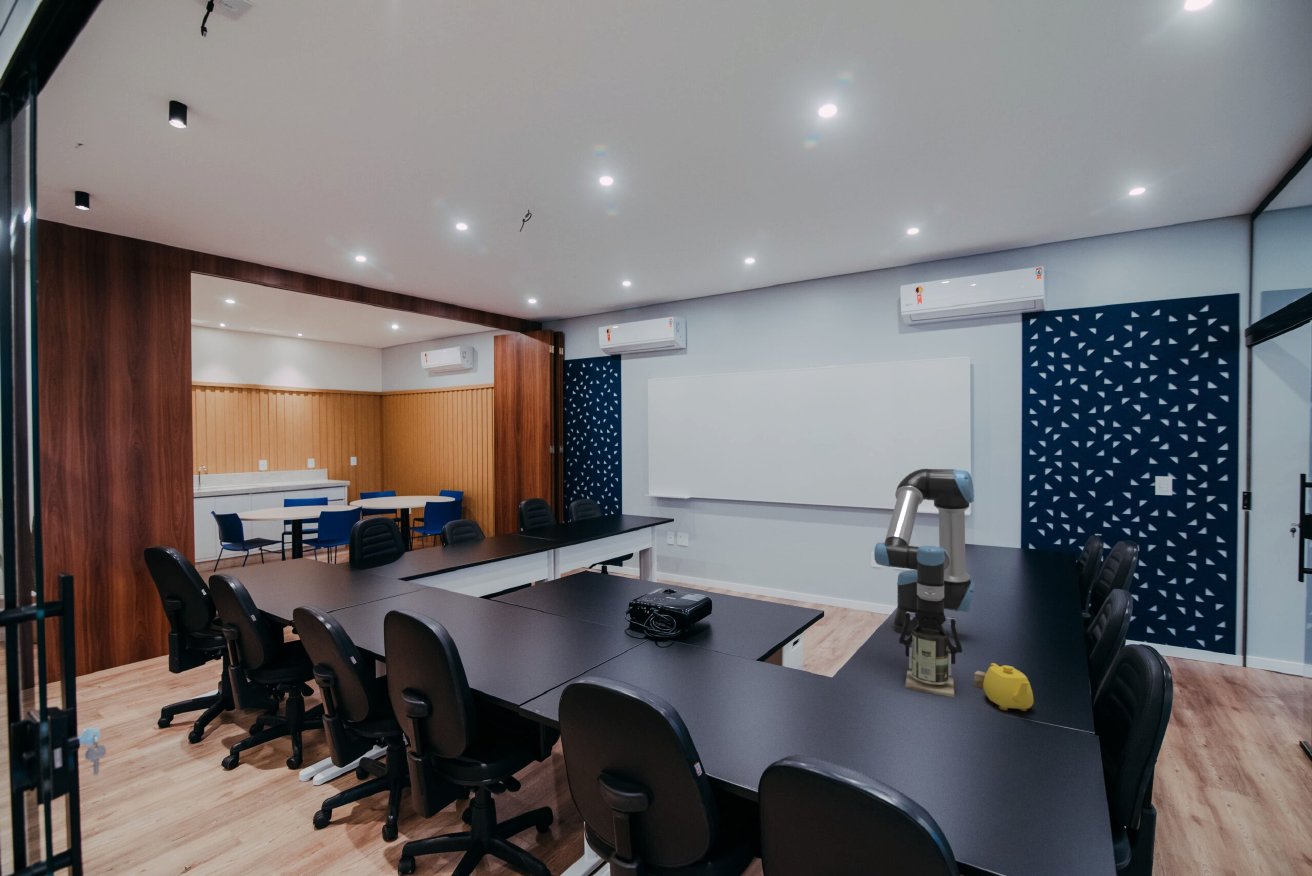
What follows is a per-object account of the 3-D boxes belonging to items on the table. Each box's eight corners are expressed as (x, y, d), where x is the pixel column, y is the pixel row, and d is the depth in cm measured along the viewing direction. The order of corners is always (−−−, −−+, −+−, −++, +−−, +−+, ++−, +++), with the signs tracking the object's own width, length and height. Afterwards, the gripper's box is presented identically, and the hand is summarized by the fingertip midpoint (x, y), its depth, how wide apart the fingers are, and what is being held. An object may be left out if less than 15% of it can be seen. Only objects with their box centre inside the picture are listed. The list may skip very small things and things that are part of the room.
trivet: (907, 672, 182) (907, 669, 182) (953, 680, 176) (953, 677, 176) (905, 688, 170) (905, 685, 170) (954, 697, 164) (954, 694, 164)
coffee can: (942, 672, 177) (943, 627, 177) (953, 686, 167) (953, 638, 167) (907, 669, 179) (908, 625, 179) (915, 683, 169) (916, 636, 169)
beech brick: (974, 686, 172) (974, 673, 172) (977, 683, 174) (977, 670, 174) (996, 692, 168) (996, 679, 168) (999, 689, 170) (999, 676, 170)
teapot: (1049, 722, 150) (1049, 681, 150) (1007, 720, 151) (1007, 680, 151) (1010, 691, 168) (1010, 655, 168) (972, 690, 169) (972, 654, 169)
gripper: (889, 595, 175) (889, 667, 175) (973, 606, 165) (972, 682, 165) (891, 590, 181) (890, 659, 181) (971, 599, 171) (971, 672, 171)
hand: (929, 670), depth 173 cm, fingers closed on coffee can, 10 cm apart
